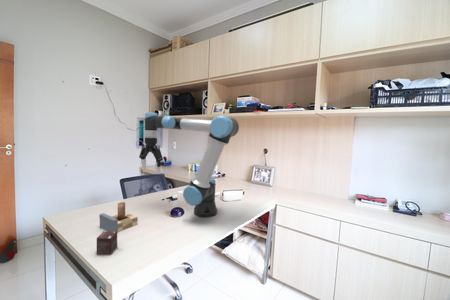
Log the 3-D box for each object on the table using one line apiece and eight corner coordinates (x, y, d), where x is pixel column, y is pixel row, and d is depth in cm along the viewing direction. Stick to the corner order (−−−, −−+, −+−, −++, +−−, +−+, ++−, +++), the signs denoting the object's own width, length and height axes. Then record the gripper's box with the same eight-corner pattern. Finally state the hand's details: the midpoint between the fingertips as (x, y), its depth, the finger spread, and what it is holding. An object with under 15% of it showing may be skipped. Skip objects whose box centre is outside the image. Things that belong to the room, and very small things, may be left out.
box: (103, 247, 92) (103, 231, 92) (117, 247, 93) (117, 231, 92) (96, 255, 86) (96, 238, 86) (111, 255, 87) (111, 238, 86)
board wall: (157, 219, 123) (157, 206, 122) (110, 239, 99) (110, 222, 99) (141, 213, 131) (141, 201, 130) (94, 230, 107) (94, 215, 106)
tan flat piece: (137, 224, 113) (137, 217, 113) (116, 232, 104) (116, 224, 103) (124, 219, 119) (125, 212, 119) (104, 226, 110) (104, 218, 109)
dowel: (120, 227, 109) (120, 205, 108) (116, 225, 111) (116, 203, 110) (126, 225, 112) (126, 203, 111) (122, 223, 114) (122, 201, 113)
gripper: (169, 138, 128) (168, 172, 130) (143, 136, 142) (143, 167, 143) (159, 138, 122) (159, 174, 124) (133, 136, 135) (133, 168, 137)
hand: (150, 170), depth 133 cm, fingers open, 13 cm apart
